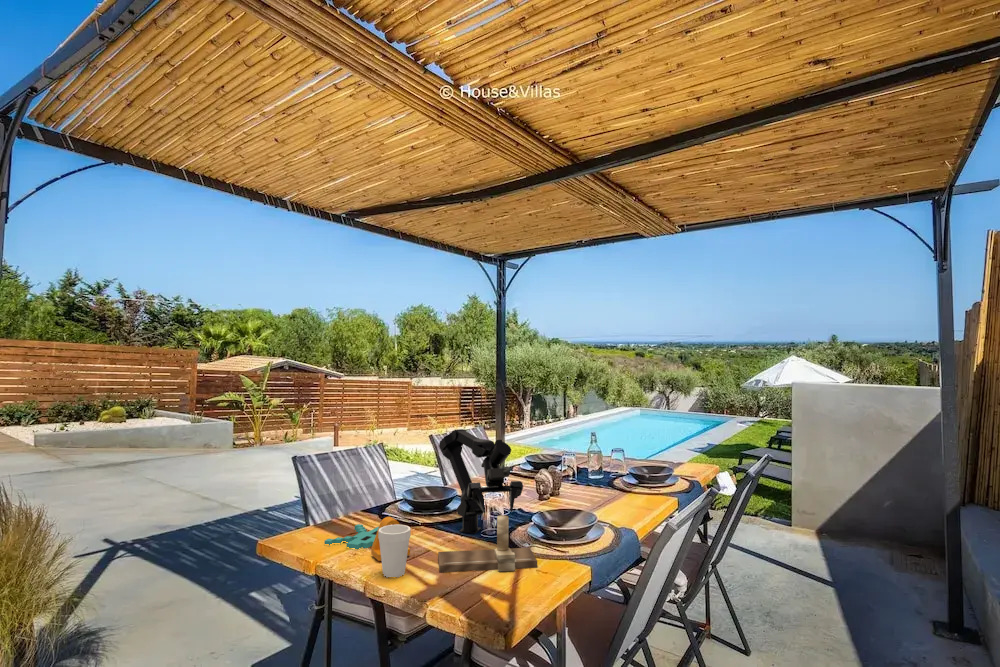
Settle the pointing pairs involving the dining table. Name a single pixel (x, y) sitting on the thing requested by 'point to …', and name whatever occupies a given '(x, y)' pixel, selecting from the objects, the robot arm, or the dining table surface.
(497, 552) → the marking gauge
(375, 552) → the bracket
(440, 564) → the walnut board
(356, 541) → the alien figure
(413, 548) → the dining table surface
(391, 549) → the foam cup
